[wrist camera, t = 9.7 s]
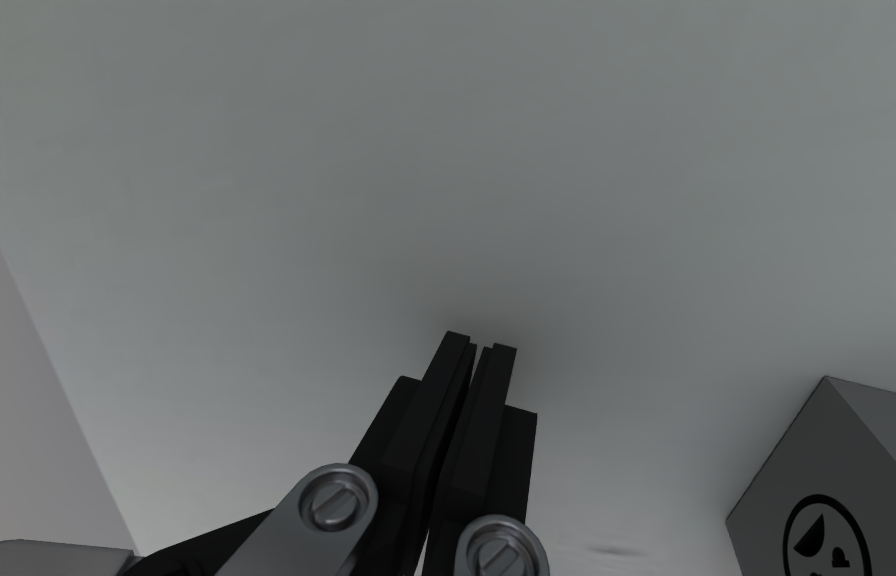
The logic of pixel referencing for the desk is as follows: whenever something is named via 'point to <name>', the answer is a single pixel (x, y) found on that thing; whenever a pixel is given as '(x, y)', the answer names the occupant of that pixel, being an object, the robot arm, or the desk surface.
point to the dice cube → (825, 491)
